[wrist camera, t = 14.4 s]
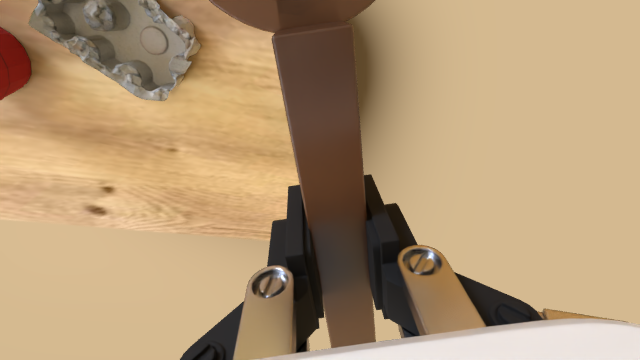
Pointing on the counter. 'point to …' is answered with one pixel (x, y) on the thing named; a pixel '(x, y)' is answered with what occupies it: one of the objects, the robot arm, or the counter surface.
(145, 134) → the counter surface
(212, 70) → the counter surface
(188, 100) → the counter surface
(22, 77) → the plastic cup
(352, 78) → the spoon
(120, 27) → the crystal geode chunk
